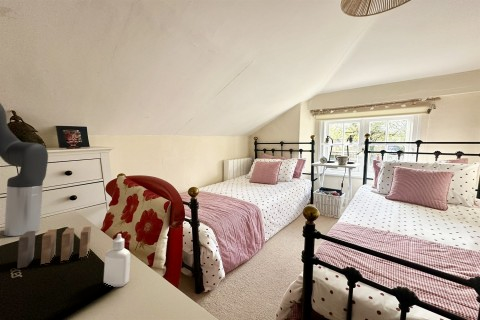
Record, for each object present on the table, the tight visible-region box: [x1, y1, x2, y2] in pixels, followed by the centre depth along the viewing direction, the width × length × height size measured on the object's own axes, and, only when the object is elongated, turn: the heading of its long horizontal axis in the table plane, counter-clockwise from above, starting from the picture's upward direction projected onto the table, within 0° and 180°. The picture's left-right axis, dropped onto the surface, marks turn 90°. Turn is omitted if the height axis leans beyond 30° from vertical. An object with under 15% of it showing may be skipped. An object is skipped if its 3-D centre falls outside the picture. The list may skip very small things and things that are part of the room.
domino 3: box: [78, 226, 92, 259], centre depth 64 cm, size 2×5×8 cm, turn 28°
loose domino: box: [16, 231, 36, 269], centre depth 58 cm, size 2×5×8 cm, turn 29°
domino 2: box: [60, 227, 75, 262], centre depth 62 cm, size 2×5×8 cm, turn 28°
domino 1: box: [40, 228, 57, 265], centre depth 60 cm, size 2×5×8 cm, turn 28°
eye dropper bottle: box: [103, 233, 131, 288], centre depth 52 cm, size 4×6×12 cm
